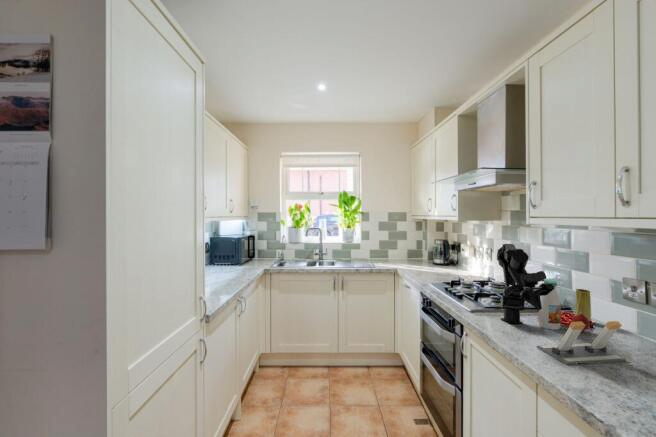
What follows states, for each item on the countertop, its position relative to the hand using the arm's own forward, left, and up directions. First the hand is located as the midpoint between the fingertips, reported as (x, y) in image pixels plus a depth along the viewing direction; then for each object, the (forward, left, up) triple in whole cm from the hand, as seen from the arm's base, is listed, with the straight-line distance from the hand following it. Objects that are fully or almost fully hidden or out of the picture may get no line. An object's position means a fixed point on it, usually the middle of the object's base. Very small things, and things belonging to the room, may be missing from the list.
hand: (540, 309), depth 122 cm
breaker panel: (+11, +6, -13) cm, 18 cm away
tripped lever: (+11, 0, -11) cm, 15 cm away
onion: (-8, +26, -13) cm, 30 cm away
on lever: (+11, +13, -11) cm, 20 cm away
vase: (-19, +38, -13) cm, 44 cm away
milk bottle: (-14, +17, -13) cm, 26 cm away
